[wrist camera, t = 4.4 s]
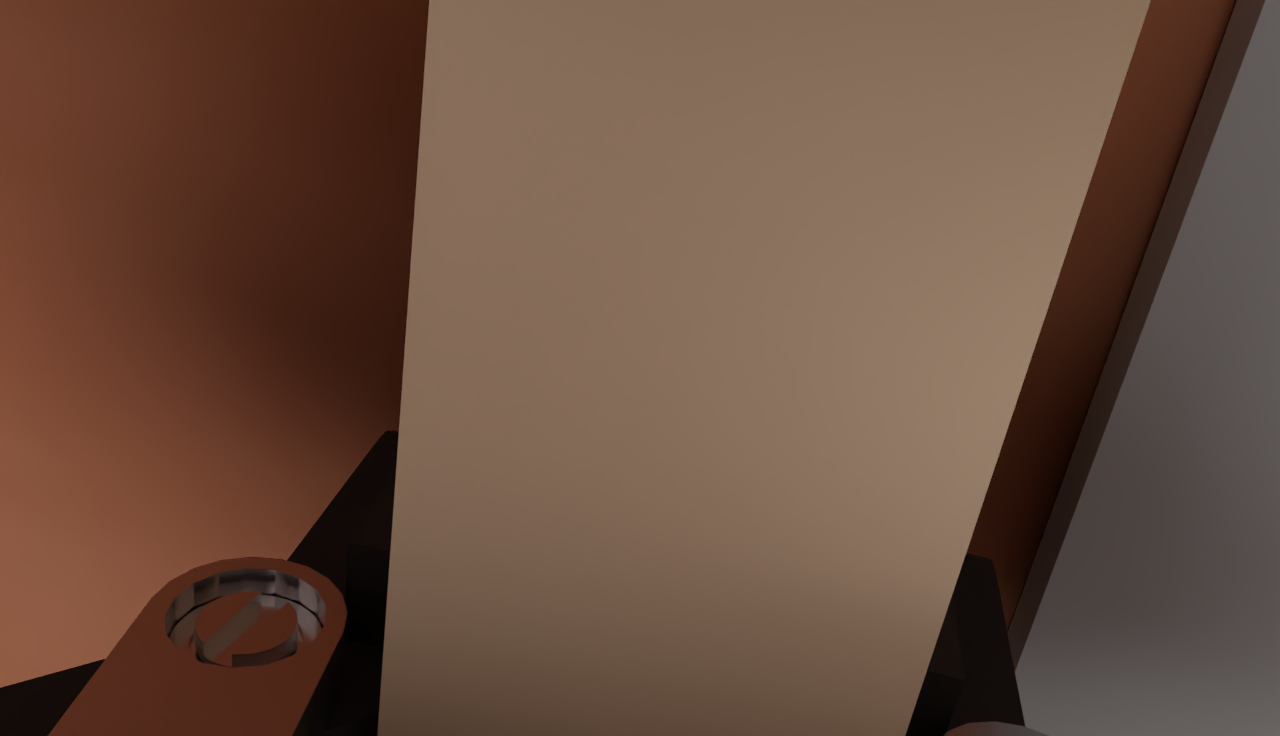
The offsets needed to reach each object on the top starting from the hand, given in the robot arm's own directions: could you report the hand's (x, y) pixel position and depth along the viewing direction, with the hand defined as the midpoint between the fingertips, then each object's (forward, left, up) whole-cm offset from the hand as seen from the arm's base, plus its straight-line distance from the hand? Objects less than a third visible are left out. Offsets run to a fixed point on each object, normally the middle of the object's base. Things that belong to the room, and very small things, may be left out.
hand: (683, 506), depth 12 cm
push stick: (0, 0, 0) cm, 0 cm away
